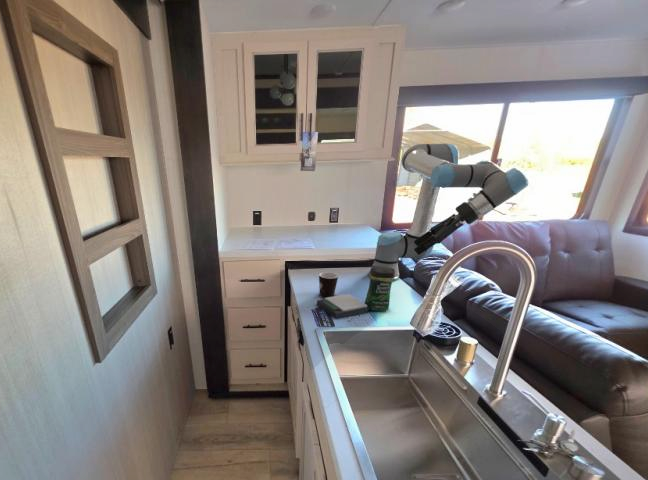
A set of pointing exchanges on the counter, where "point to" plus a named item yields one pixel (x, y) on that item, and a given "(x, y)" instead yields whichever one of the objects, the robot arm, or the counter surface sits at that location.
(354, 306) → the kitchen scale
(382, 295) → the coffee jar
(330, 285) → the coffee mug
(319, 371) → the counter surface
